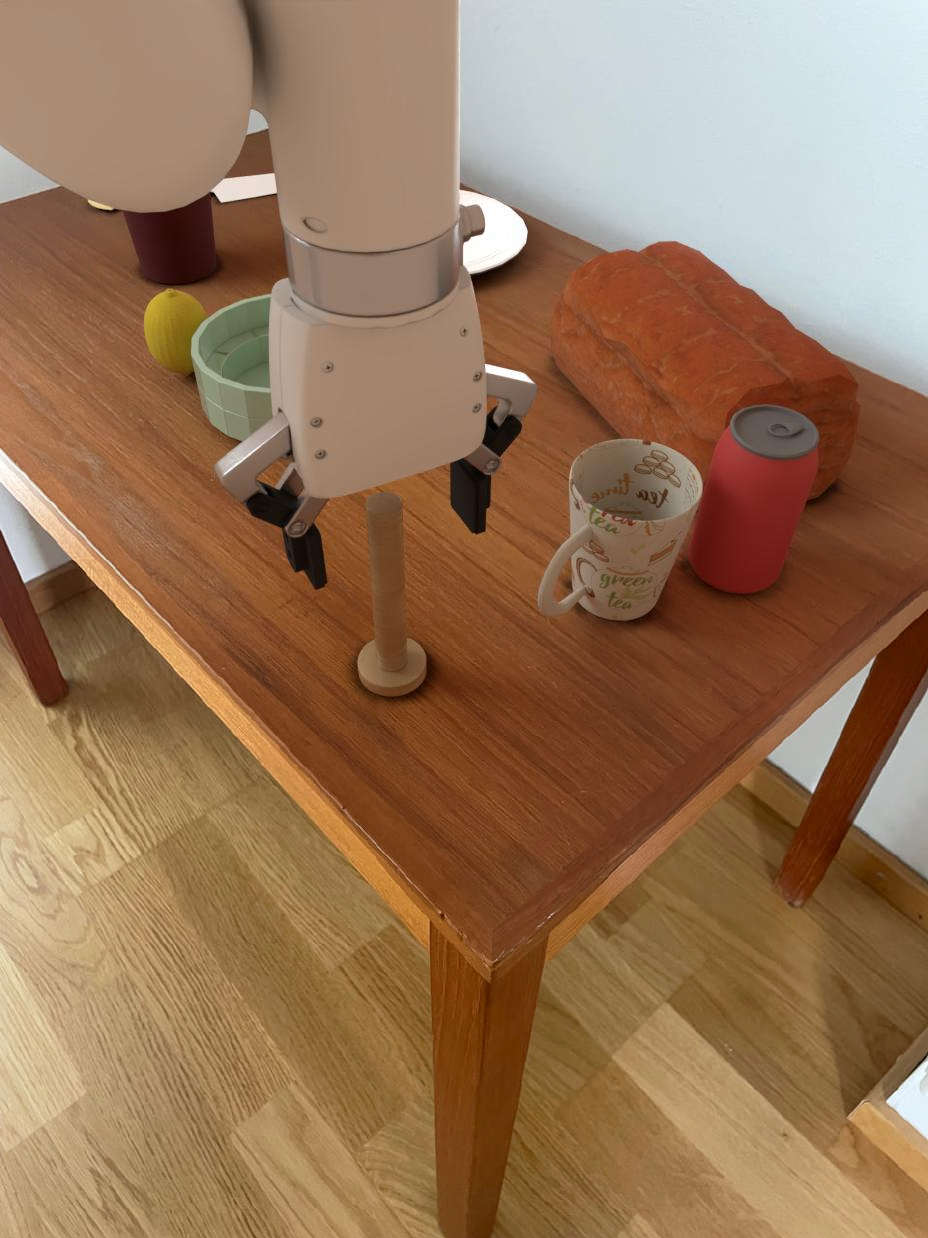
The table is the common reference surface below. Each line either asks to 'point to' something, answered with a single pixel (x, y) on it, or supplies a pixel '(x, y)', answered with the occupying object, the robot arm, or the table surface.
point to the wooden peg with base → (389, 605)
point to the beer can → (754, 498)
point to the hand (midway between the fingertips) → (391, 545)
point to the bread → (694, 356)
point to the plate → (492, 235)
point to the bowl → (235, 367)
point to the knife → (234, 188)
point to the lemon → (173, 329)
